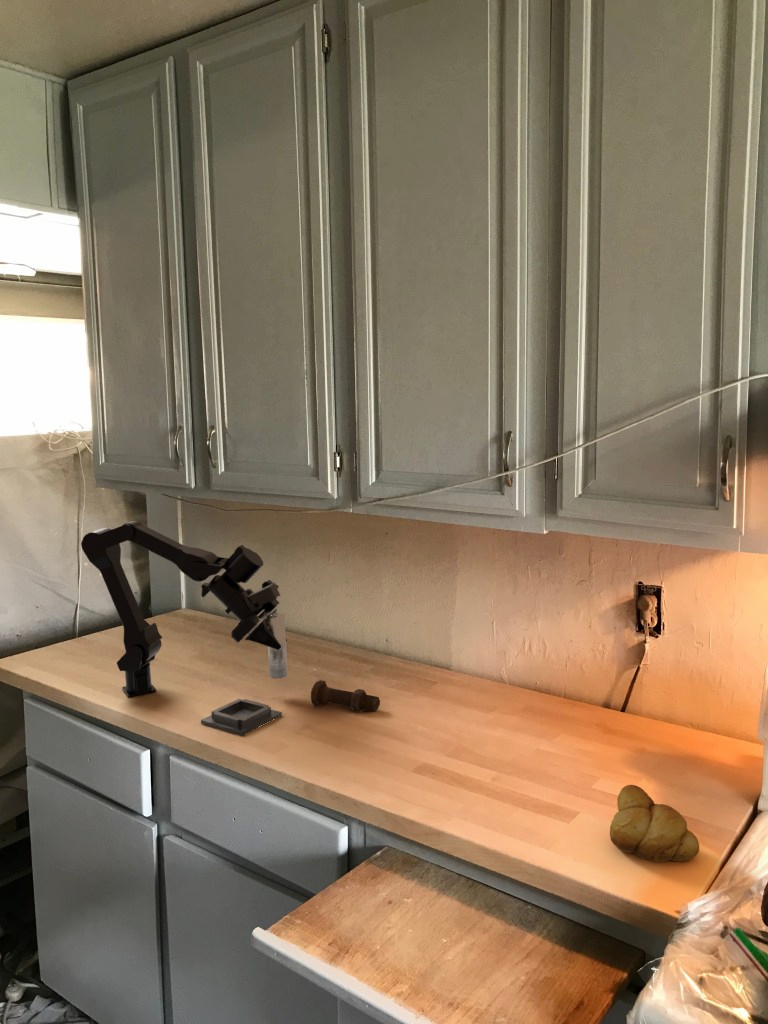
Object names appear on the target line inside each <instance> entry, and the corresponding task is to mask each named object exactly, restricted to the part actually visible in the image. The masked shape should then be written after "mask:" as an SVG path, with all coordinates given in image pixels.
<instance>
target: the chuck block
mask: <svg viewBox="0 0 768 1024" xmlns="http://www.w3.org/2000/svg"><path fill="white" fill-rule="evenodd" d="M280 716H281V717H283V712H282V711H278V710H274V709H272V707H271V706H269V704H266V703H261V702H257V701H254V700H250V699H246V698H244V699H241V698H238V699H236V700H233V701H231V702H230V703H227V704H224V705H222V706H220V707H218V708H215V709H214V710H212V711H211V715H209V716H207V717H206V716H205V718H202V719H201V720H200V724H201V725H204V726H207V727H208V726H209V727H211V728H215V729H218V730H221V731H225V732H227V733H231V734H234V733H235V734H234V735H237V734H238V736H241V737H243V736H245V735H247V734H249V733H251V732H253V731H255V730H257V729H259V728H260V727H259V726H261V725H263V724H265V723H267V722H269V721H271V722H272V720H273V719H275V720H276V718H277V719H279V718H280ZM278 717H279V718H278ZM273 721H274V720H273ZM269 723H270V722H269ZM267 724H268V723H267ZM265 725H266V724H265ZM263 726H264V725H263ZM258 727H259V728H258ZM261 727H262V726H261ZM256 728H257V729H256ZM254 729H255V730H254ZM252 730H253V731H252ZM250 731H251V732H250ZM248 732H249V733H248ZM246 733H247V734H246Z"/></svg>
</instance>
